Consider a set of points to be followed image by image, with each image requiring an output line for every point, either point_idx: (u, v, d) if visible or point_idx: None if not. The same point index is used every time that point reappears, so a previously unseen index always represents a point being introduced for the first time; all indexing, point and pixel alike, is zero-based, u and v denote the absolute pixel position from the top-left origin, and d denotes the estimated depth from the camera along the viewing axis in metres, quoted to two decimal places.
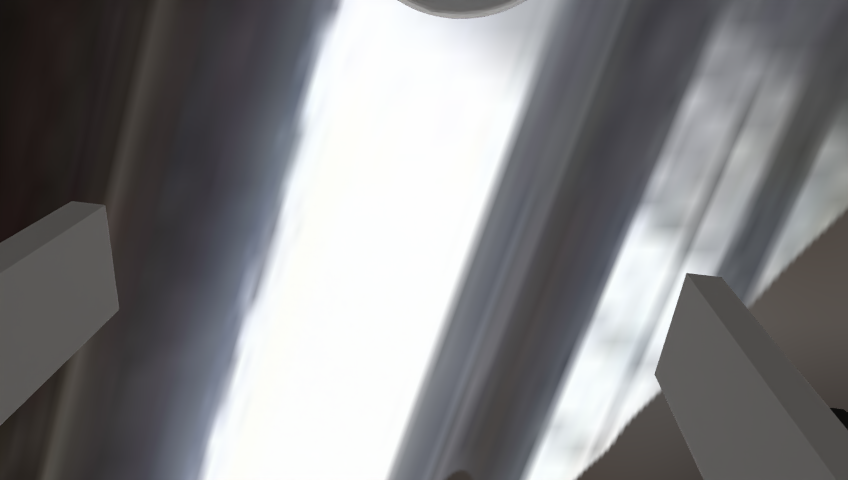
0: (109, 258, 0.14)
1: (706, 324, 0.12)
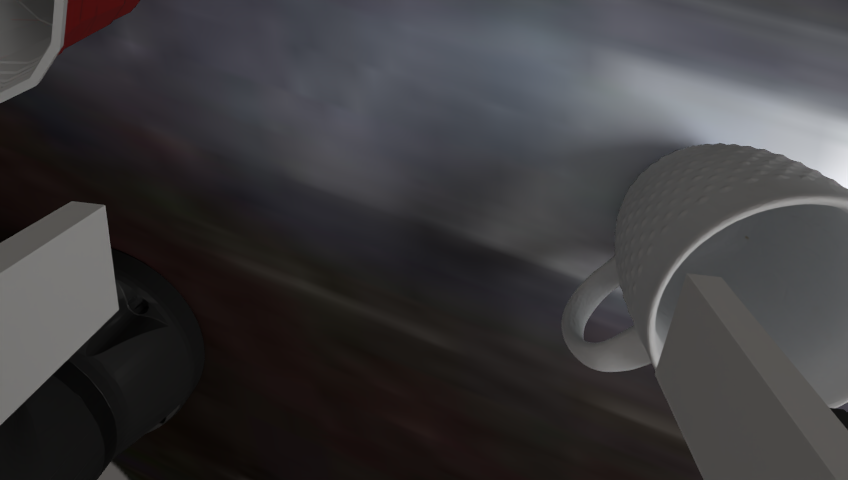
0: (110, 258, 0.14)
1: (706, 325, 0.12)
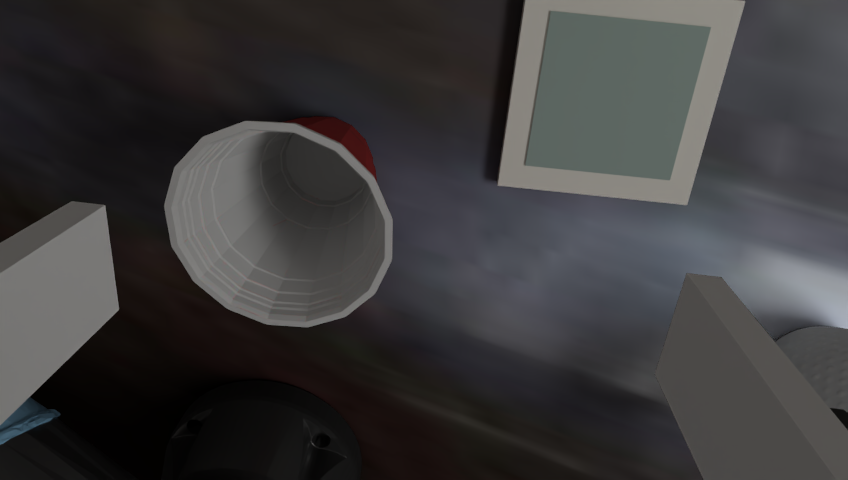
0: (110, 258, 0.14)
1: (706, 324, 0.12)
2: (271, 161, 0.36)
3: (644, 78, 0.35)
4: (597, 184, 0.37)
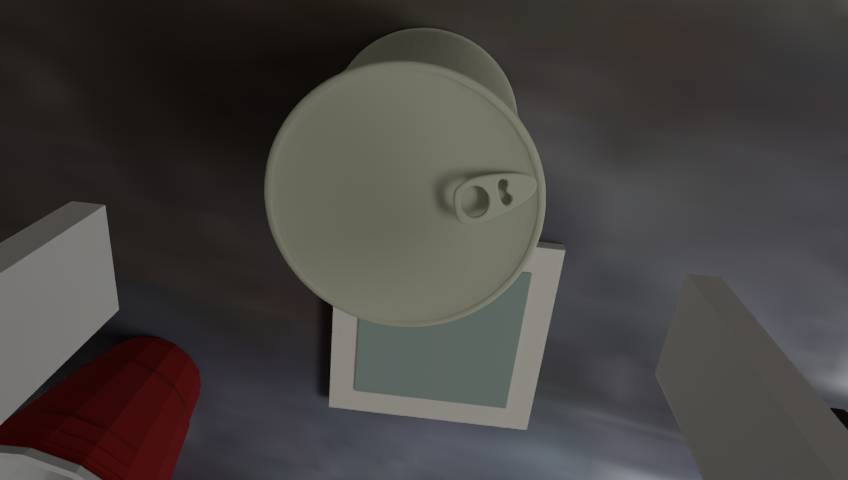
0: (110, 258, 0.14)
1: (706, 324, 0.12)
2: None
3: (469, 316, 0.33)
4: (431, 409, 0.36)
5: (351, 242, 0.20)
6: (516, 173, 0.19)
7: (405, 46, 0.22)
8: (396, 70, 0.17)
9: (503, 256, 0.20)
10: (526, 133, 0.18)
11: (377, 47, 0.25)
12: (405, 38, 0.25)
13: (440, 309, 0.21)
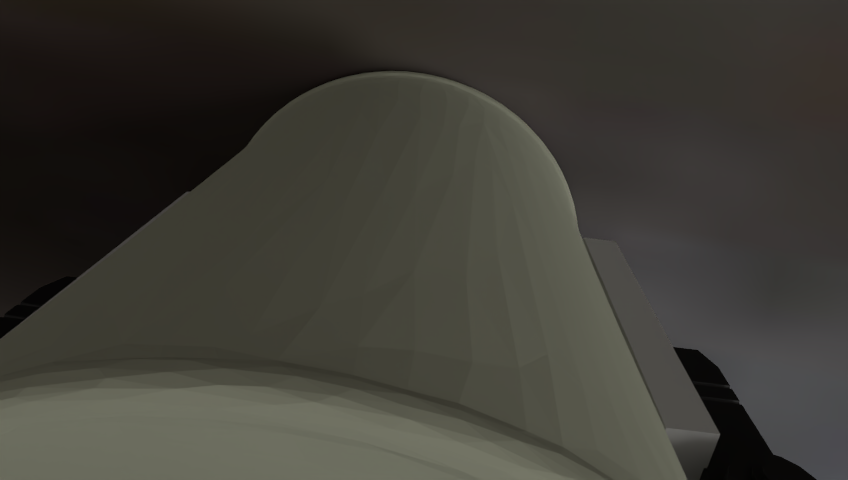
0: None
1: None
2: None
3: None
4: None
5: None
6: None
7: (322, 153, 0.08)
8: (162, 420, 0.04)
9: None
10: None
11: (282, 126, 0.11)
12: (346, 105, 0.11)
13: None
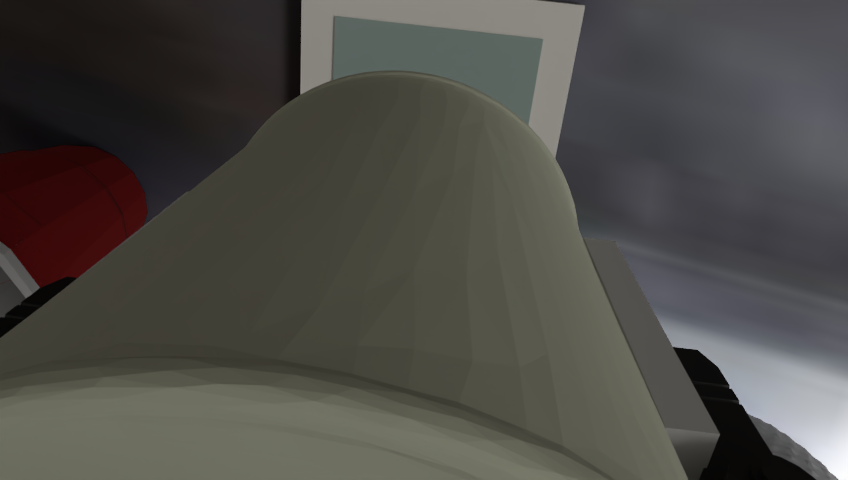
0: None
1: None
2: None
3: None
4: None
5: None
6: None
7: (322, 152, 0.08)
8: (162, 417, 0.04)
9: None
10: None
11: (282, 125, 0.11)
12: (346, 104, 0.11)
13: None
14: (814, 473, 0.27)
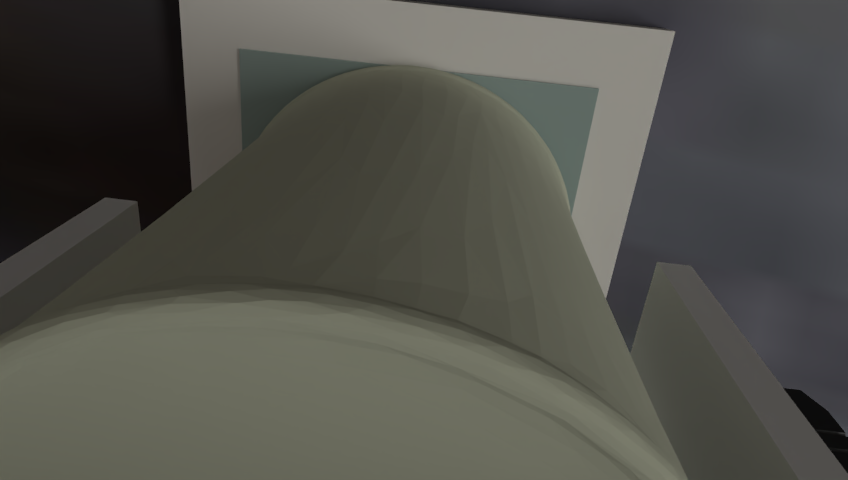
0: None
1: (673, 310, 0.12)
2: None
3: None
4: None
5: None
6: None
7: (336, 136, 0.09)
8: (225, 328, 0.05)
9: None
10: None
11: (295, 115, 0.12)
12: (354, 95, 0.12)
13: None
14: None
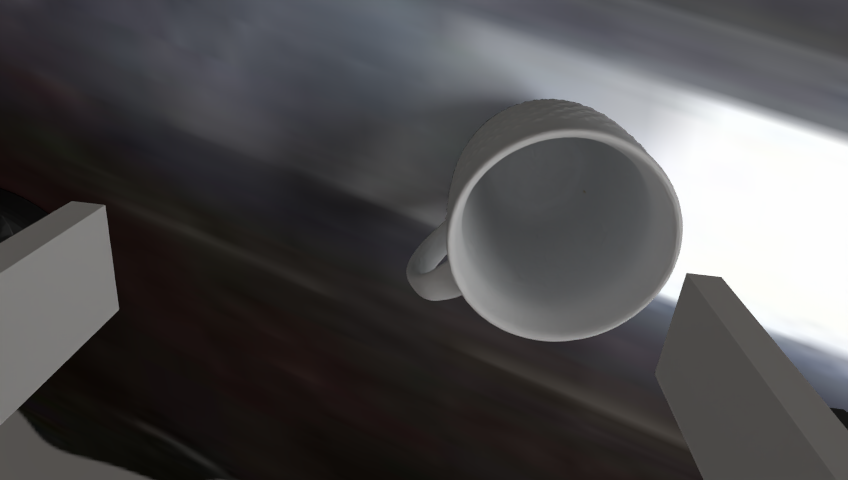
0: (109, 258, 0.14)
1: (706, 324, 0.12)
2: None
3: None
4: None
5: None
6: None
7: None
8: None
9: None
10: None
11: None
12: None
13: None
14: (588, 107, 0.31)
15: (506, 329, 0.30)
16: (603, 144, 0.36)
